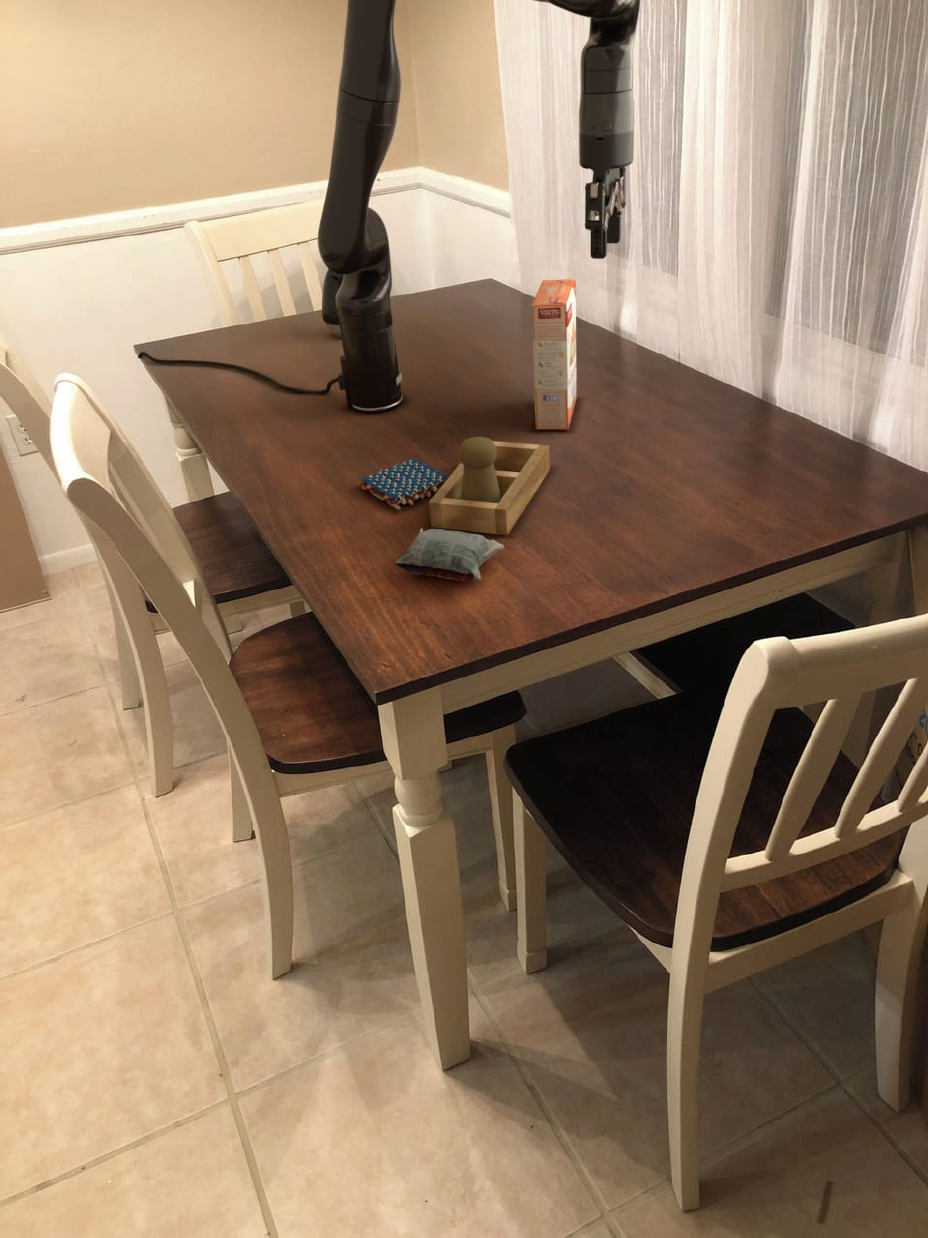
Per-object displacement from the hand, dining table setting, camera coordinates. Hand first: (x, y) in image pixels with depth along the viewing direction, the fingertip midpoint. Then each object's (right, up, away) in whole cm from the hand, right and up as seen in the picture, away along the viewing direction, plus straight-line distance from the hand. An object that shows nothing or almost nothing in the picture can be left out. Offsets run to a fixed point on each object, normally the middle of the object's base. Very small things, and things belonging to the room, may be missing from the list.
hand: (605, 250), depth 140 cm
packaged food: (-23, -48, -16) cm, 55 cm away
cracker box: (-5, -20, +22) cm, 30 cm away
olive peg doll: (-18, -39, -5) cm, 44 cm away
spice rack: (-17, -37, -1) cm, 40 cm away
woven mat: (-30, -35, +4) cm, 46 cm away
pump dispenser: (-46, +8, +69) cm, 84 cm away
